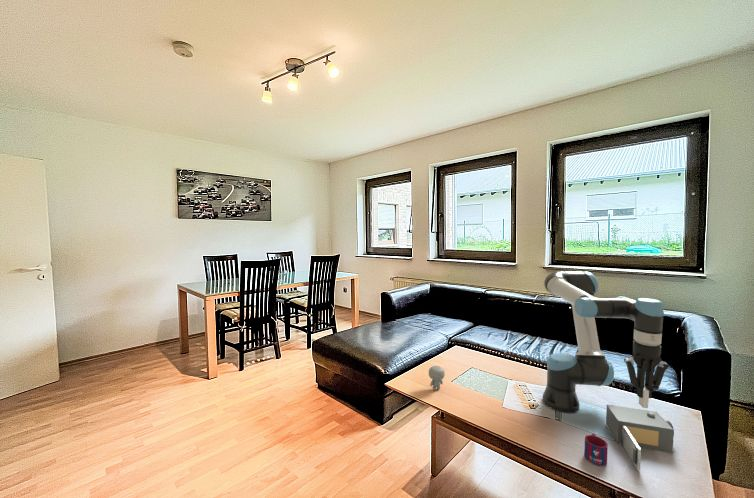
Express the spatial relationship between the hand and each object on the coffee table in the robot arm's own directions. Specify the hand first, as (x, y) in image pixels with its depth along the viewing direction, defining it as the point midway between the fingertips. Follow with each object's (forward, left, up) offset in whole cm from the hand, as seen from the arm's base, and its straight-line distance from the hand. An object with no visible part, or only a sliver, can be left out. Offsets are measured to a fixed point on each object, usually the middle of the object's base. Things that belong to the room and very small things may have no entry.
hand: (643, 405), depth 112 cm
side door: (-4, -2, -18) cm, 19 cm away
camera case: (+4, +11, -19) cm, 22 cm away
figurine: (-78, +25, -19) cm, 84 cm away
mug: (-16, -5, -19) cm, 25 cm away
